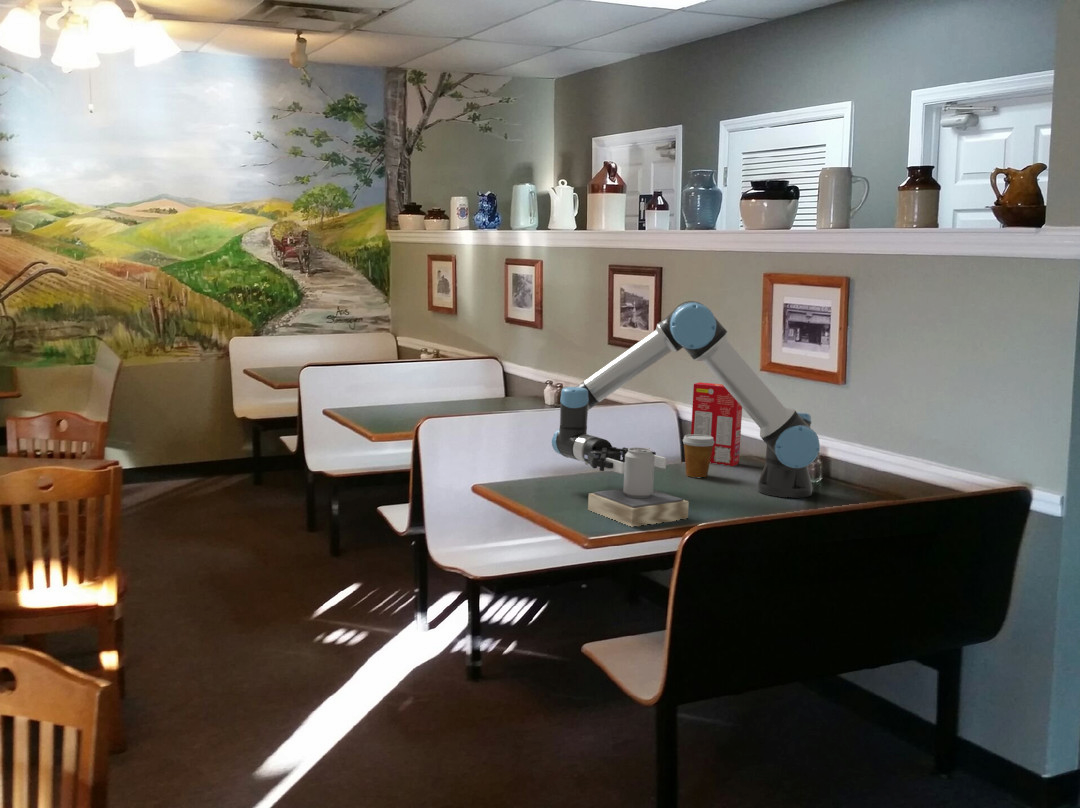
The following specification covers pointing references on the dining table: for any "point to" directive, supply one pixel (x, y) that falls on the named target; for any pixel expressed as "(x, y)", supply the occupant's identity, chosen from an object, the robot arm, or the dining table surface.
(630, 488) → the can
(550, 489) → the dining table surface
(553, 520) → the dining table surface
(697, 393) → the food packaging
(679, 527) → the dining table surface
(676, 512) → the dock
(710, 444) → the disposable coffee cup
